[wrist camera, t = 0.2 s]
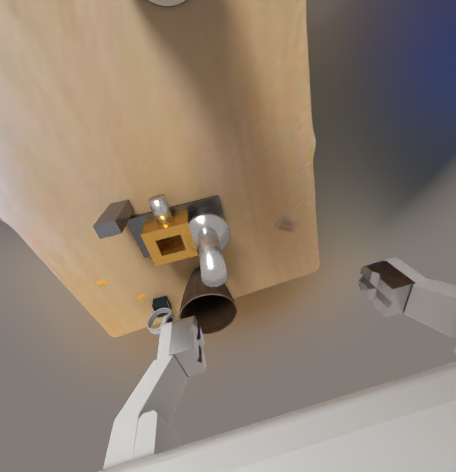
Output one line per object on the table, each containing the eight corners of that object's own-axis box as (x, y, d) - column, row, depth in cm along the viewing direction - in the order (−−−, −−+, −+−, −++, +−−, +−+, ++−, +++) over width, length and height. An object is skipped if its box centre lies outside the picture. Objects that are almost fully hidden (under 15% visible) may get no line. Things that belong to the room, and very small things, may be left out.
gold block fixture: (118, 200, 54) (78, 257, 33) (215, 177, 55) (233, 218, 34) (145, 254, 62) (125, 325, 42) (228, 233, 63) (248, 292, 43)
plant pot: (217, 249, 66) (226, 285, 52) (233, 282, 74) (244, 322, 60) (172, 266, 66) (168, 308, 53) (192, 298, 74) (193, 341, 60)
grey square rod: (110, 203, 54) (92, 226, 43) (128, 199, 54) (115, 220, 44) (115, 214, 55) (100, 238, 45) (133, 210, 55) (121, 233, 45)
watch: (176, 305, 75) (175, 334, 65) (153, 311, 74) (148, 340, 65) (172, 294, 72) (170, 322, 62) (147, 299, 71) (142, 329, 62)
